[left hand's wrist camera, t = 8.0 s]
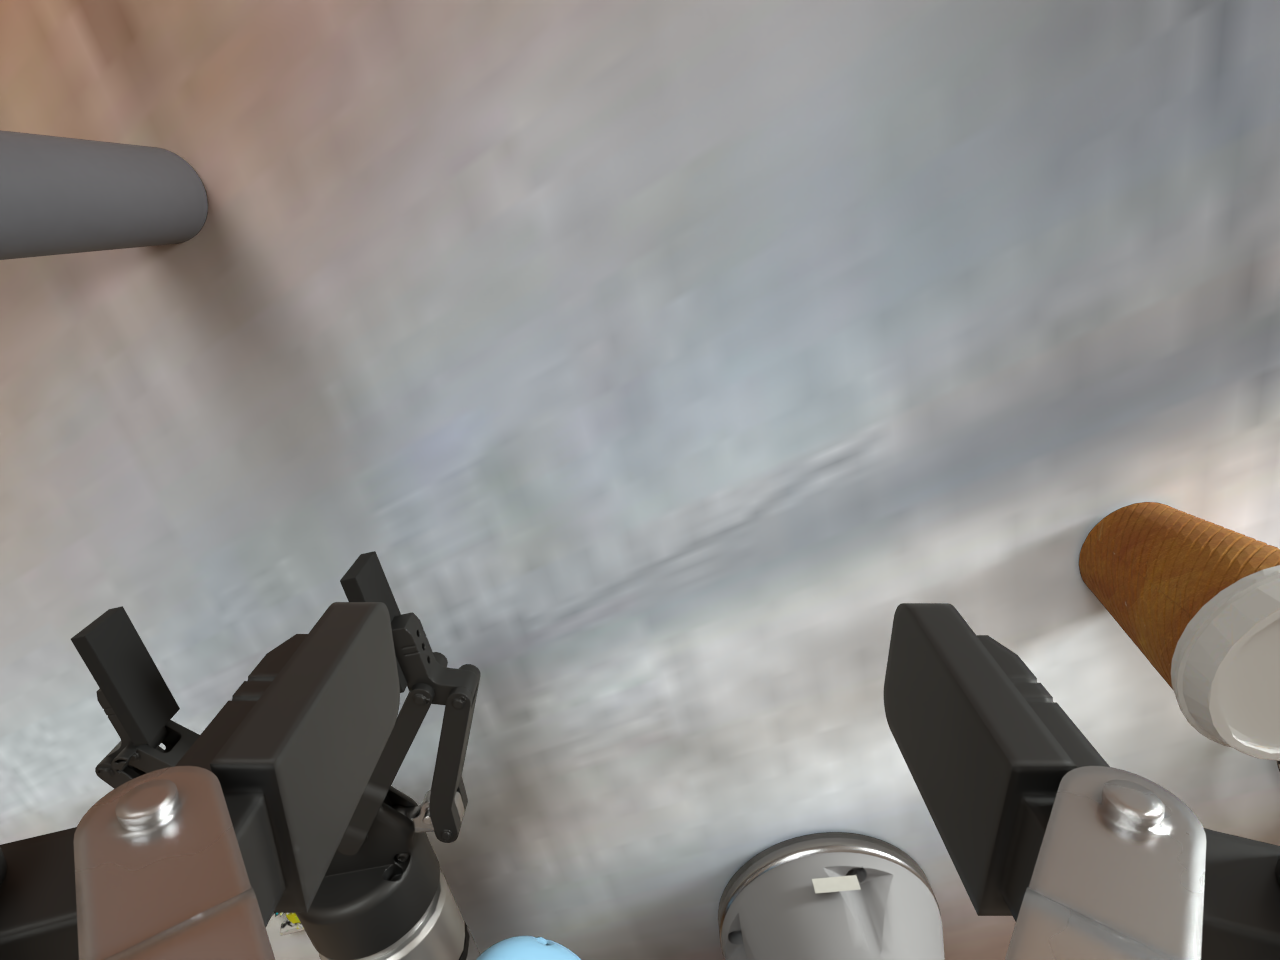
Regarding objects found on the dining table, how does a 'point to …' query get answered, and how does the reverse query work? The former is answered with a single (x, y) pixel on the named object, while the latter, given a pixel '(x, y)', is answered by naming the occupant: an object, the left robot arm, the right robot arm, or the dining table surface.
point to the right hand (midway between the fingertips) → (225, 593)
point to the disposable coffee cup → (1197, 616)
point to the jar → (93, 196)
